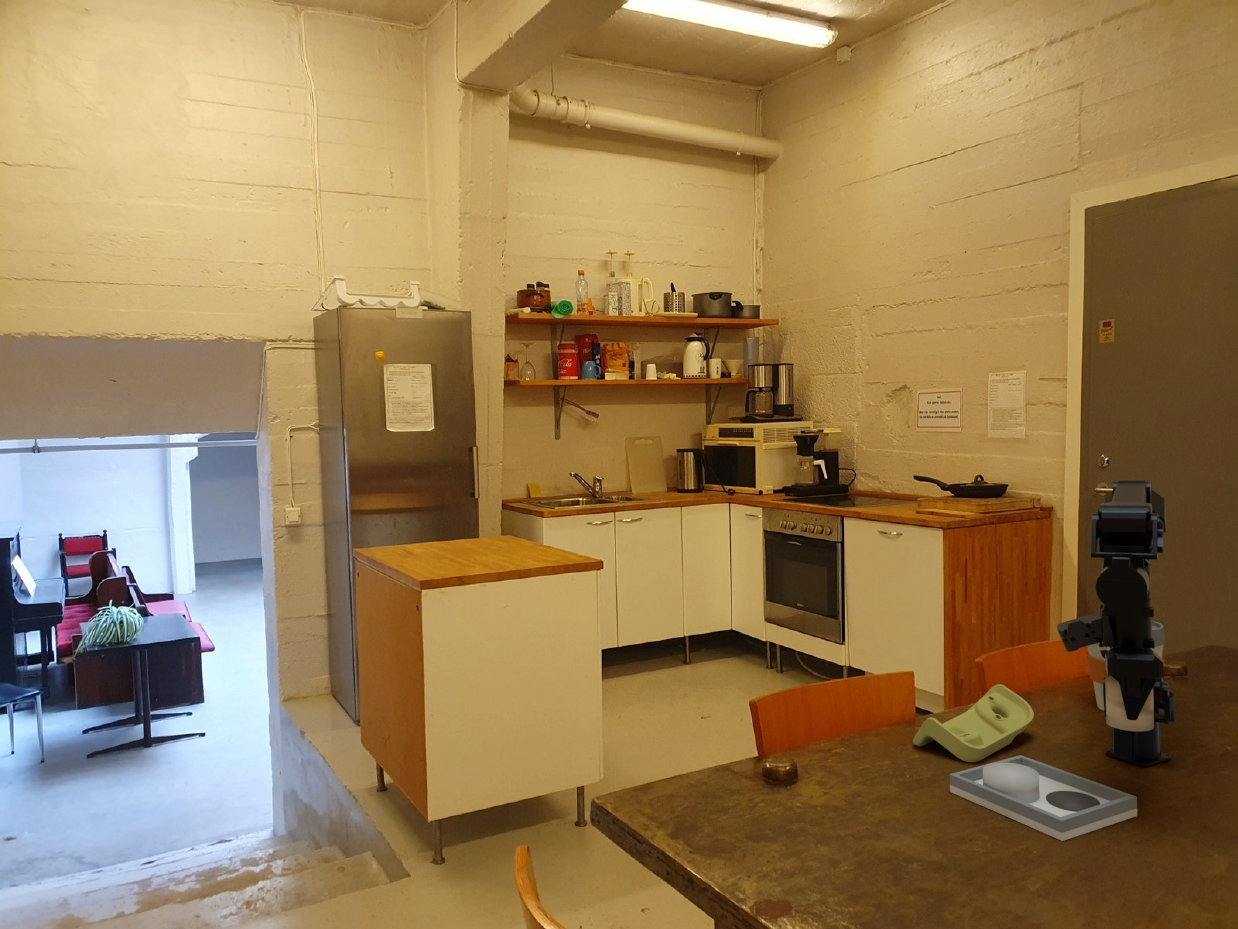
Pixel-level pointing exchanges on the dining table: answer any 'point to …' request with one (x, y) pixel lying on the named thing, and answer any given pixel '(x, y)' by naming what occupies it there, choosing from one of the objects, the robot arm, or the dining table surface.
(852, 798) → the dining table surface
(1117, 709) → the tan paper roll
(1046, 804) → the carrier plate
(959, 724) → the plastic component
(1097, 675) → the reusable coffee cup
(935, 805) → the dining table surface
